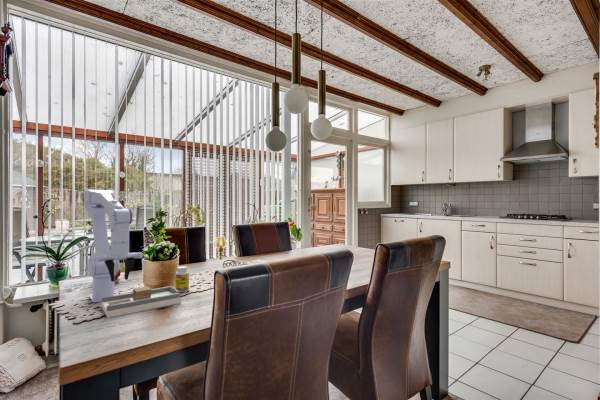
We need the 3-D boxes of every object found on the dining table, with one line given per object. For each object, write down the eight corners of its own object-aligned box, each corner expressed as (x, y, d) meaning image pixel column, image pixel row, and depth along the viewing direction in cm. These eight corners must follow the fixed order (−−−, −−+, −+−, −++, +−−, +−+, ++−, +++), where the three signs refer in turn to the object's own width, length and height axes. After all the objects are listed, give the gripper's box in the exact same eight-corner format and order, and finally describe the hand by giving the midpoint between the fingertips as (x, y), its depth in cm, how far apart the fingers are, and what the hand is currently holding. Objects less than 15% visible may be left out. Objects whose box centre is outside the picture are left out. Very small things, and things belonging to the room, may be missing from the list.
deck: (101, 306, 112) (101, 295, 112) (169, 294, 127) (169, 284, 127) (107, 317, 101) (107, 305, 101) (180, 303, 116) (180, 292, 116)
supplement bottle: (173, 292, 129) (173, 268, 129) (177, 288, 135) (177, 265, 135) (187, 292, 130) (187, 268, 130) (190, 288, 136) (190, 265, 136)
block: (132, 298, 114) (133, 288, 114) (147, 296, 118) (147, 286, 118) (136, 302, 110) (136, 291, 110) (150, 299, 114) (151, 289, 114)
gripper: (97, 245, 102) (96, 285, 101) (144, 242, 111) (144, 279, 111) (94, 242, 107) (94, 281, 107) (140, 239, 116) (139, 275, 116)
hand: (119, 280), depth 109 cm, fingers open, 4 cm apart
